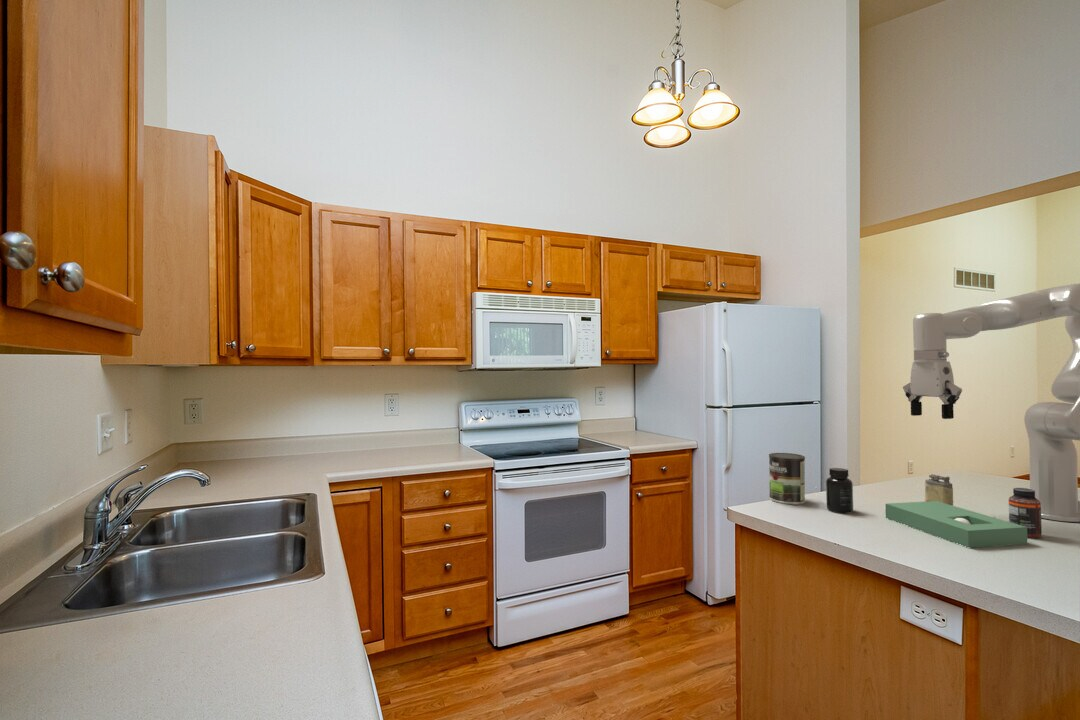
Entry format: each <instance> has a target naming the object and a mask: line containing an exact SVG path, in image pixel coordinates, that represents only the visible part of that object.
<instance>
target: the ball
mask: <svg viewBox="0 0 1080 720" xmlns="http://www.w3.org/2000/svg"><path fill="white" fill-rule="evenodd" d="M954 520H957V521H960V522H964V523H967V524H970V522H969V521H968V520H966V519H964V518H956V519H954ZM970 525H971V524H970Z"/></svg>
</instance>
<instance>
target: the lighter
mask: <svg viewBox="0 0 1080 720" xmlns="http://www.w3.org/2000/svg"><path fill="white" fill-rule="evenodd" d="M928 478H929V479H925V482H924V483H925V484H924V497H925V498H924V502H926V501H938V502H942V503H945V504H949V505H952V506H954V488H953V483H952V482H951V481H950V480H951V478H950V476H942V475H937V474H933V473H932V474H929V475H928ZM940 480H942V481H940Z"/></svg>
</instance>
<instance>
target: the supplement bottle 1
mask: <svg viewBox="0 0 1080 720" xmlns="http://www.w3.org/2000/svg"><path fill="white" fill-rule="evenodd" d="M828 469H829V476H830V477H828V478H826V479H825V490H826V491H825V498H826V499H825V501H826V508H827V510H828V511H830V512H833V513H838V514H839V513H840V514H850V513H853V511H854V485H853V481H852V479H850V478H849V477H850V476H849V475H850V474H849V469H848V468H842V467H830V468H828Z"/></svg>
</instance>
